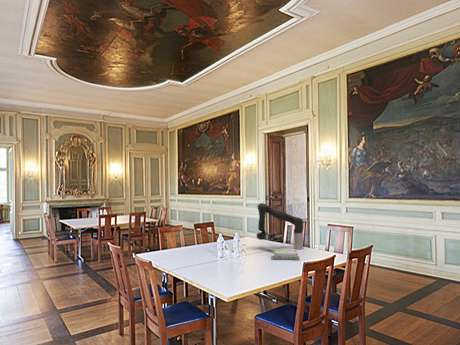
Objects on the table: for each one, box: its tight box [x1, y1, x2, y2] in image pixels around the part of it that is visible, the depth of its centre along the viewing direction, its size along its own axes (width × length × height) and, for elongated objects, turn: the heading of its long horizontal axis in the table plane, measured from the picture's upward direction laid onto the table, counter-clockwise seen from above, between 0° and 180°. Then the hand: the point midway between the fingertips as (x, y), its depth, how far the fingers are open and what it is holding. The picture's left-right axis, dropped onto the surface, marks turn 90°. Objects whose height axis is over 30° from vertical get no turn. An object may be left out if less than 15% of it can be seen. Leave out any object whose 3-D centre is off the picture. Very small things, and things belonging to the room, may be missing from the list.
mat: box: [270, 255, 301, 261], centre depth 301 cm, size 16×26×1 cm, turn 81°
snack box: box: [273, 249, 299, 259], centre depth 302 cm, size 21×6×15 cm
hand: (281, 239), depth 322 cm, fingers closed
